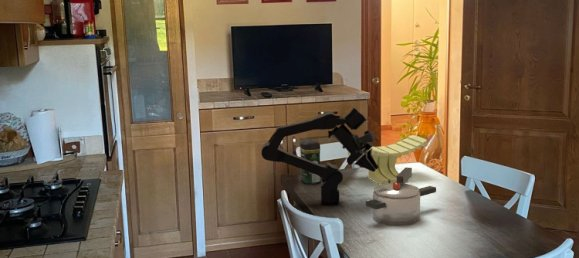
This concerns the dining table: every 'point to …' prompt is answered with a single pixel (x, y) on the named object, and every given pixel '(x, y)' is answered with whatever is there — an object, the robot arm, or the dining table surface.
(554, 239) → the dining table surface
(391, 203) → the pressure cooker pot
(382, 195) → the pressure cooker lid
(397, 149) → the slatted curved stool
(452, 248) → the dining table surface
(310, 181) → the coffee jar
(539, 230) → the dining table surface
